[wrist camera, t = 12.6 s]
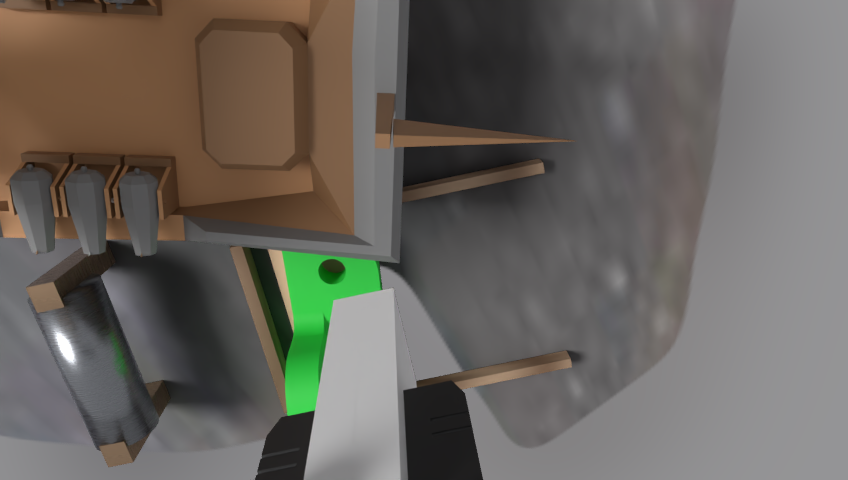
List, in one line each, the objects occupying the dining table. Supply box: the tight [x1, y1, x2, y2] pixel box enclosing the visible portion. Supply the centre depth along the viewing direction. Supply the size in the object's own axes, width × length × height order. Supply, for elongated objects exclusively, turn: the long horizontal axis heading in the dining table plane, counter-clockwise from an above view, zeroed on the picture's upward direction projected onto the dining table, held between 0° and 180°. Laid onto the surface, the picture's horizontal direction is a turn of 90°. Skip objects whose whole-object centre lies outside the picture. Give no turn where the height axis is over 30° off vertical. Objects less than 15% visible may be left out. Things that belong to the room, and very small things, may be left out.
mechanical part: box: [282, 251, 382, 416], centre depth 40 cm, size 12×6×8 cm, turn 5°
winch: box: [26, 241, 171, 467], centre depth 40 cm, size 4×13×7 cm, turn 12°
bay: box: [230, 159, 572, 413], centre depth 43 cm, size 21×15×2 cm
